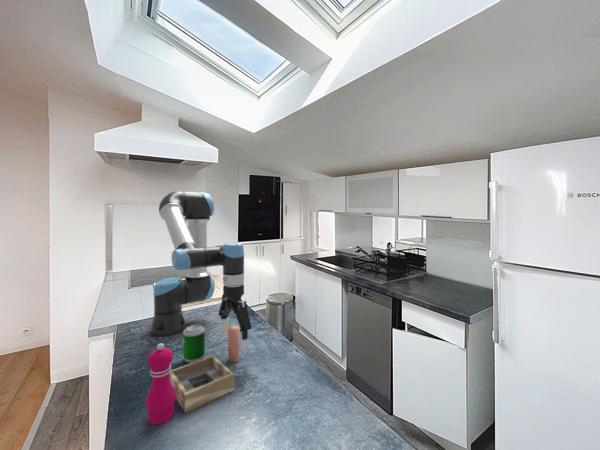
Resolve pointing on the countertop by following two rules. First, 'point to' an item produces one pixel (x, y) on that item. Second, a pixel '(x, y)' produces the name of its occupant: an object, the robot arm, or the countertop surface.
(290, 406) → the countertop surface
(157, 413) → the pepper mill
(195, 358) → the soda can
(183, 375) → the box
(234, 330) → the peg
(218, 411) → the countertop surface
